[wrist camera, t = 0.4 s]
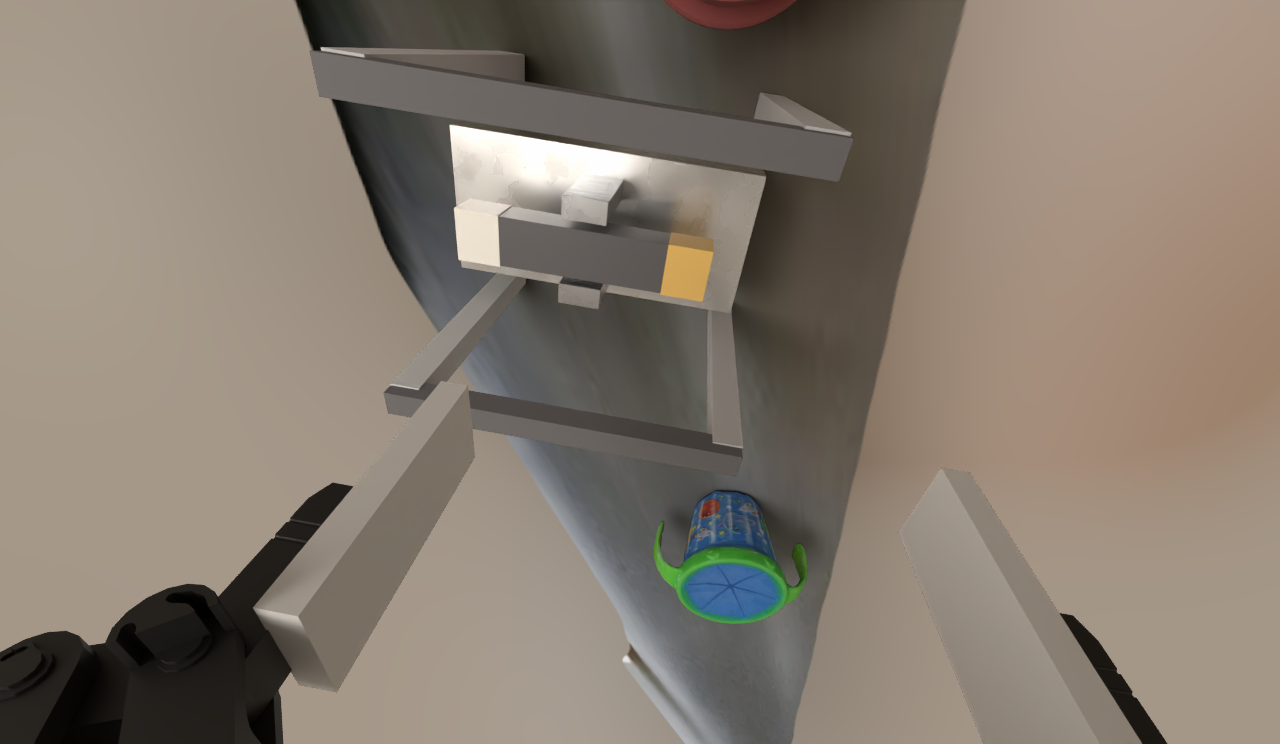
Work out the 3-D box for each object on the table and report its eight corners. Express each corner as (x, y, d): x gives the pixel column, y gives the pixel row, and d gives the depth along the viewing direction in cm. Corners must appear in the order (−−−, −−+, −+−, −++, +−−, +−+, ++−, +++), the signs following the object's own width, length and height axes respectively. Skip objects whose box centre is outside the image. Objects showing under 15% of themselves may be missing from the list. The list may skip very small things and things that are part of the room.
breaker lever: (470, 198, 27) (453, 208, 25) (713, 239, 27) (713, 252, 25) (473, 247, 29) (458, 259, 27) (702, 286, 28) (702, 301, 27)
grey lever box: (493, 112, 34) (400, 137, 24) (756, 155, 34) (777, 200, 23) (498, 238, 39) (423, 303, 29) (726, 277, 39) (732, 357, 28)
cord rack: (501, 50, 32) (307, 47, 17) (784, 96, 32) (856, 135, 16) (507, 279, 41) (387, 414, 26) (726, 317, 41) (736, 478, 25)
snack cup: (813, 496, 51) (834, 583, 43) (776, 554, 57) (788, 640, 49) (672, 461, 51) (665, 542, 42) (650, 523, 57) (639, 604, 48)
